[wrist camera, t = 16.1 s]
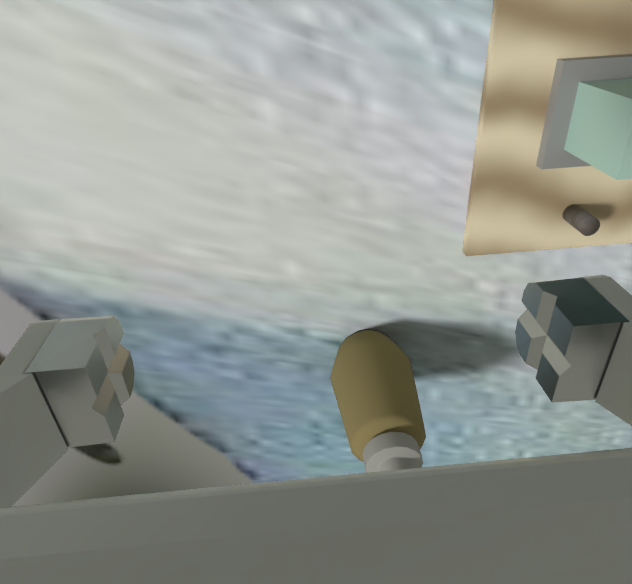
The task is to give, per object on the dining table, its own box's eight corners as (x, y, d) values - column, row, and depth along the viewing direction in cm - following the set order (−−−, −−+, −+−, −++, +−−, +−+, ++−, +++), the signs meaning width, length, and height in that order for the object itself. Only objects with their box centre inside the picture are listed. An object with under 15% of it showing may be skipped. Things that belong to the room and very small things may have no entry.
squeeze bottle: (406, 317, 49) (466, 468, 34) (400, 377, 53) (452, 535, 38) (326, 322, 49) (350, 477, 33) (327, 382, 53) (349, 544, 38)
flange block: (557, 59, 36) (622, 76, 29) (662, 51, 36) (751, 68, 30) (536, 165, 40) (588, 202, 34) (630, 158, 41) (701, 193, 34)
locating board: (503, -71, 32) (529, -77, 29) (765, -86, 33) (821, -93, 30) (462, 250, 45) (477, 272, 42) (651, 235, 46) (680, 255, 43)
